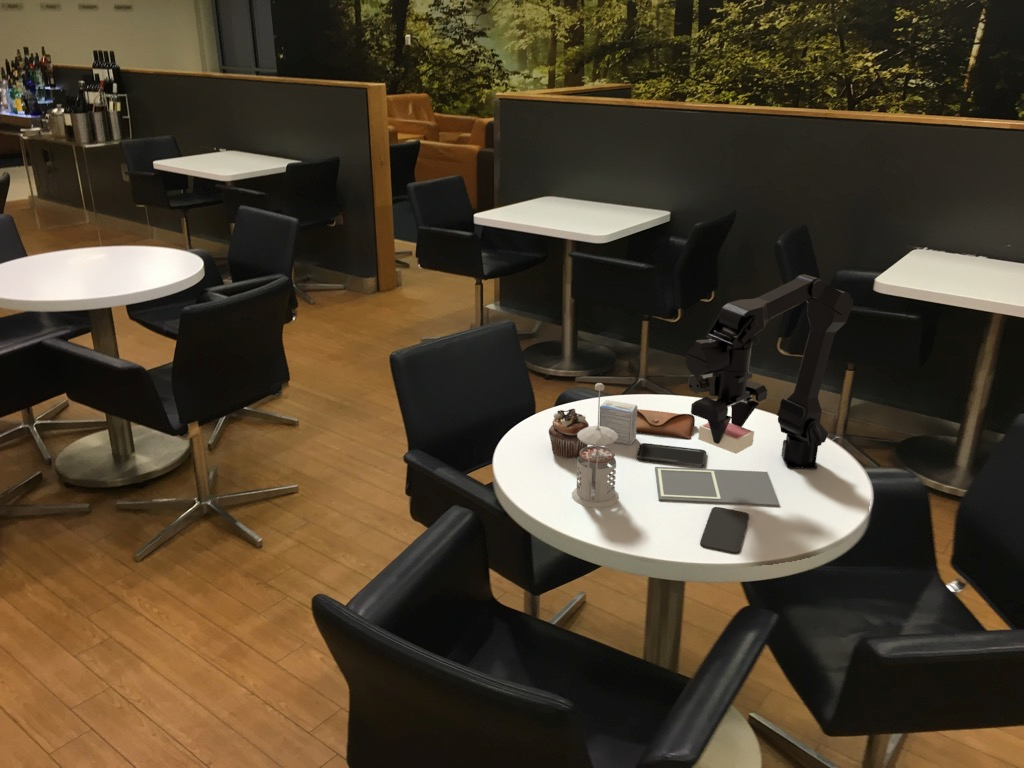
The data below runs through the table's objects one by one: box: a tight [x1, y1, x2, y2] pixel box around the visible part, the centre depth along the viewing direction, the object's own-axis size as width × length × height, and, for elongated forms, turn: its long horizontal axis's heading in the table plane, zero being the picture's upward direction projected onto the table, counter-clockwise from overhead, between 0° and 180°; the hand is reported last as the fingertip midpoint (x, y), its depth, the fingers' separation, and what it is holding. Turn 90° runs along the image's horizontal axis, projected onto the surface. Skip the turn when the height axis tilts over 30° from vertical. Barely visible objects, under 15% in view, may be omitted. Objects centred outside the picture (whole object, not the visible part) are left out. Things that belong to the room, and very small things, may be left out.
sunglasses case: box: [636, 408, 696, 440], centre depth 204 cm, size 18×7×7 cm, turn 76°
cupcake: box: [548, 408, 590, 459], centre depth 191 cm, size 10×10×10 cm
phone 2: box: [636, 442, 707, 469], centre depth 190 cm, size 8×1×15 cm
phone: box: [699, 506, 750, 555], centre depth 162 cm, size 7×1×15 cm
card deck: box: [697, 421, 755, 454], centre depth 172 cm, size 9×6×3 cm, turn 44°
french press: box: [571, 382, 620, 509], centre depth 169 cm, size 10×12×25 cm
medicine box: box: [599, 399, 638, 446], centre depth 197 cm, size 8×4×9 cm, turn 65°
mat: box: [654, 466, 781, 507], centre depth 177 cm, size 24×14×1 cm, turn 84°
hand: (725, 438), depth 173 cm, fingers closed on card deck, 6 cm apart
